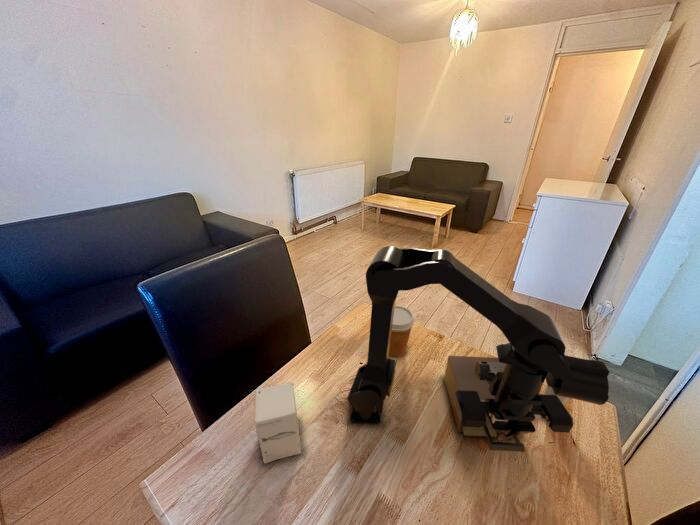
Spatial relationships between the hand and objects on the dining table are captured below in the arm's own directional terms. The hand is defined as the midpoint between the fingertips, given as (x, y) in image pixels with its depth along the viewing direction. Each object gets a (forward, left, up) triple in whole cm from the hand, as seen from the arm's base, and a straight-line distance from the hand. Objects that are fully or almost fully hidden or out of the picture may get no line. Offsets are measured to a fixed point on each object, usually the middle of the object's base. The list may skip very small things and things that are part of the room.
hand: (499, 437), depth 55 cm
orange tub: (-18, +27, -4) cm, 33 cm away
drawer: (0, +6, -3) cm, 6 cm away
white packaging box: (-43, -1, -4) cm, 43 cm away
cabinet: (0, +10, -4) cm, 11 cm away
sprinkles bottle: (+15, +9, -4) cm, 18 cm away
